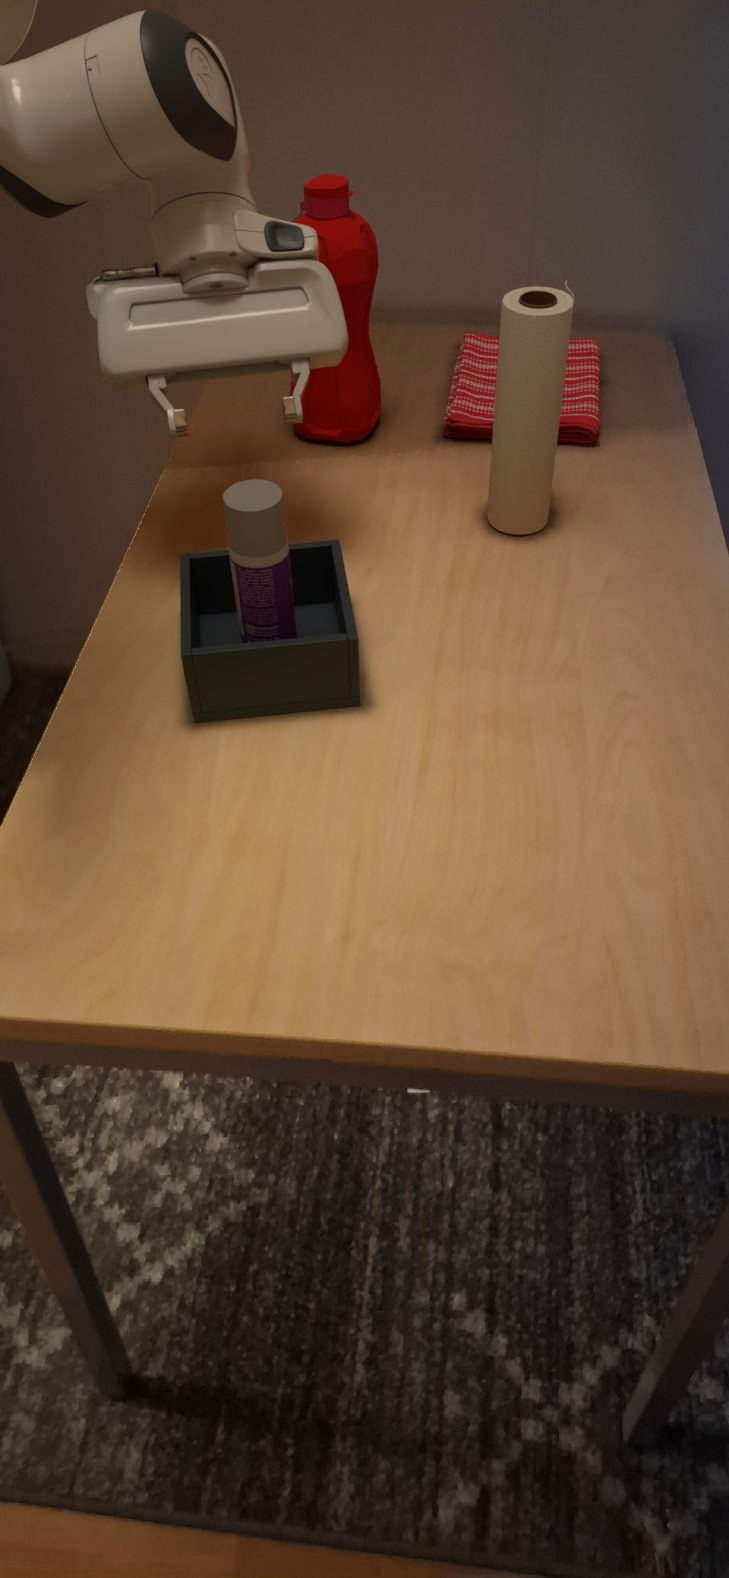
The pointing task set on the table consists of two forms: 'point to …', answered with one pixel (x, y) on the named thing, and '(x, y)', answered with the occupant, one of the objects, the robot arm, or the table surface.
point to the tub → (269, 670)
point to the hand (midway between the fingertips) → (237, 428)
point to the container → (260, 561)
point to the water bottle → (348, 248)
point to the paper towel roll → (528, 406)
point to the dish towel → (478, 387)
